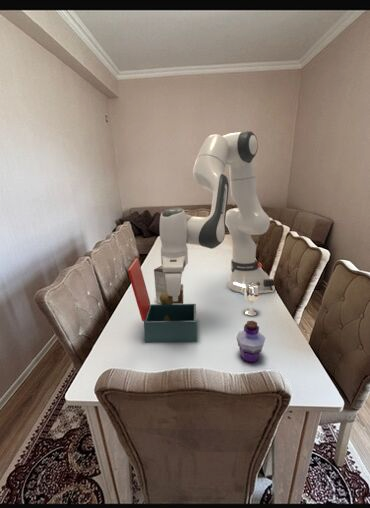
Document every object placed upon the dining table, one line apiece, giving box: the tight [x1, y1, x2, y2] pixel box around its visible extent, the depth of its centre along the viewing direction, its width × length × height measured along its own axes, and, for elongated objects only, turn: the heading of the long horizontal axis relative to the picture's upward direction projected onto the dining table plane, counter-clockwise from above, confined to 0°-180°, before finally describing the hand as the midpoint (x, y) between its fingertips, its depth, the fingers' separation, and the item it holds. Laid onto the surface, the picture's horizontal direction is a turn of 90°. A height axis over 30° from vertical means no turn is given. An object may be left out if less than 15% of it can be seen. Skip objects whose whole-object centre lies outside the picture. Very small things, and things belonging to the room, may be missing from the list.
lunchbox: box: [143, 303, 198, 343], centre depth 90 cm, size 18×13×8 cm
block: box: [168, 283, 185, 304], centre depth 87 cm, size 5×5×5 cm
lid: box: [127, 257, 151, 322], centre depth 86 cm, size 18×13×1 cm
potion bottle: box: [236, 320, 267, 364], centre depth 75 cm, size 9×9×12 cm
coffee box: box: [153, 265, 167, 304], centre depth 113 cm, size 9×6×16 cm
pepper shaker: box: [160, 292, 170, 321], centre depth 97 cm, size 6×6×11 cm
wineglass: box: [243, 283, 260, 317], centre depth 100 cm, size 6×6×12 cm
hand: (176, 296), depth 87 cm, fingers closed on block, 5 cm apart
